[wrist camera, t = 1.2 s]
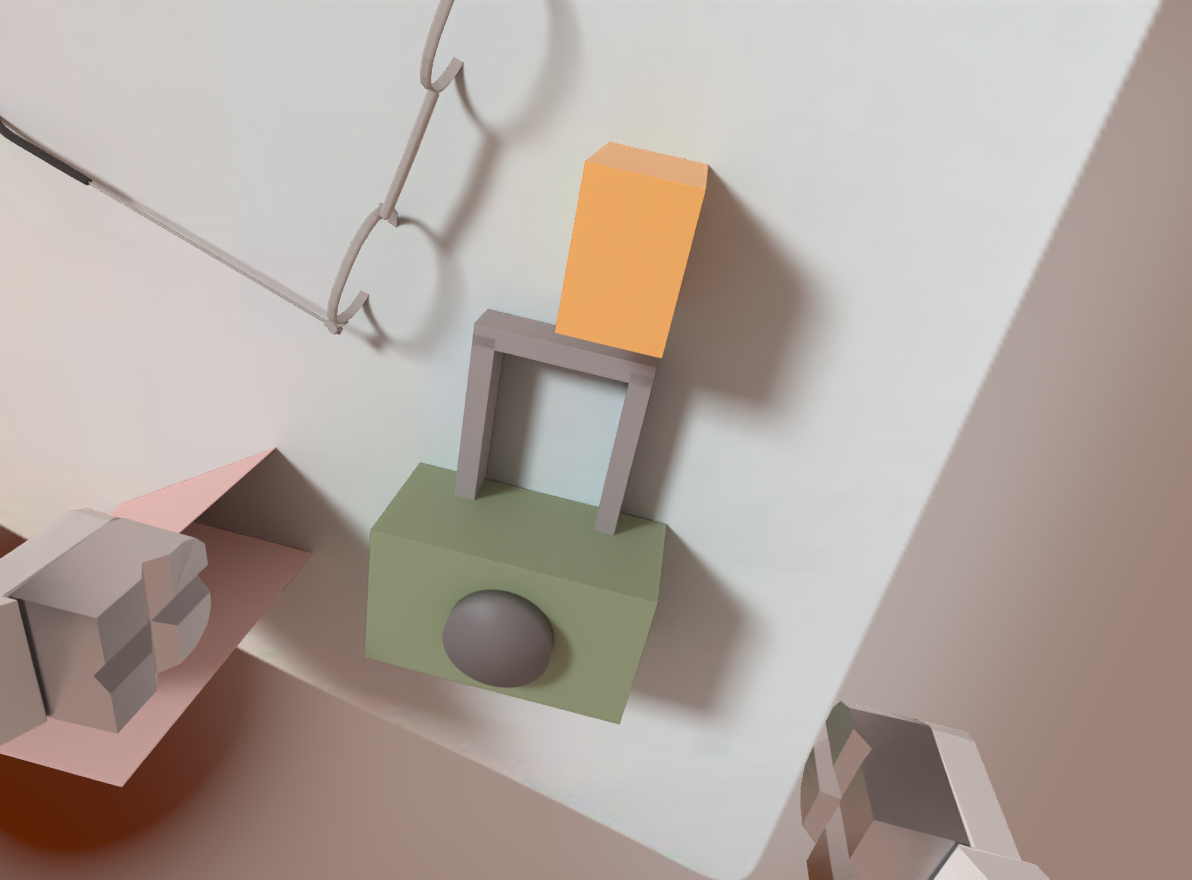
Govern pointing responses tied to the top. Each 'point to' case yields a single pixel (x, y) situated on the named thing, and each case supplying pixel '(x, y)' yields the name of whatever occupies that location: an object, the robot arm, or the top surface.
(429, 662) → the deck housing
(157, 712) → the greeting card
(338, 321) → the eyeglasses
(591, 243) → the chute block
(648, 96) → the top surface
